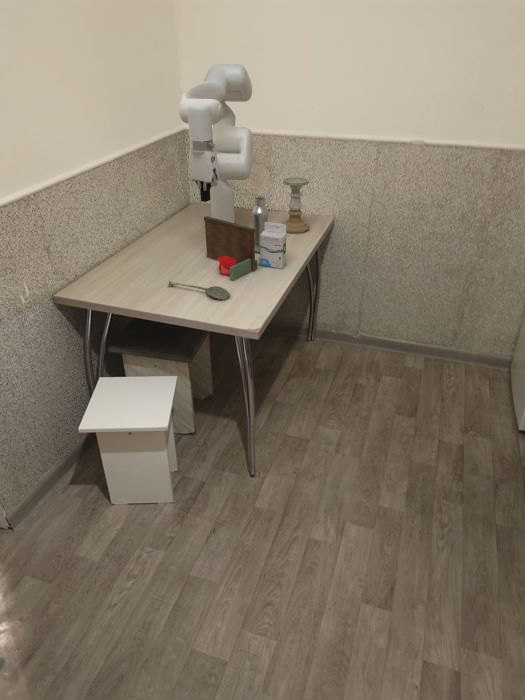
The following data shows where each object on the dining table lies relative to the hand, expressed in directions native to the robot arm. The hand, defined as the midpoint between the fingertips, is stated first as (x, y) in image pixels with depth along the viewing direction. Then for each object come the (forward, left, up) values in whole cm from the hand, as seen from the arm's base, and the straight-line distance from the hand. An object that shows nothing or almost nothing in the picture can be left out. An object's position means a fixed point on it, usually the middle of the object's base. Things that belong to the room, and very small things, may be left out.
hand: (205, 200), depth 177 cm
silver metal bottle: (+10, +18, -22) cm, 30 cm away
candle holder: (+6, +47, -22) cm, 52 cm away
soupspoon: (+16, -22, -22) cm, 35 cm away
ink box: (+22, +10, -22) cm, 33 cm away
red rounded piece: (+14, -5, -22) cm, 26 cm away
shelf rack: (+9, -2, -22) cm, 23 cm away
